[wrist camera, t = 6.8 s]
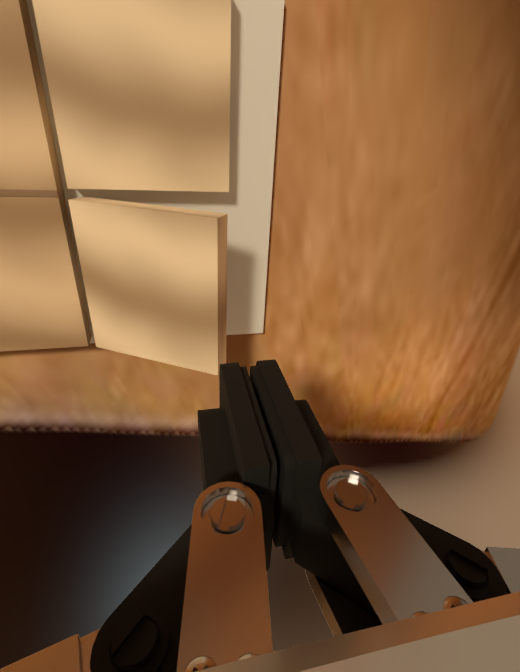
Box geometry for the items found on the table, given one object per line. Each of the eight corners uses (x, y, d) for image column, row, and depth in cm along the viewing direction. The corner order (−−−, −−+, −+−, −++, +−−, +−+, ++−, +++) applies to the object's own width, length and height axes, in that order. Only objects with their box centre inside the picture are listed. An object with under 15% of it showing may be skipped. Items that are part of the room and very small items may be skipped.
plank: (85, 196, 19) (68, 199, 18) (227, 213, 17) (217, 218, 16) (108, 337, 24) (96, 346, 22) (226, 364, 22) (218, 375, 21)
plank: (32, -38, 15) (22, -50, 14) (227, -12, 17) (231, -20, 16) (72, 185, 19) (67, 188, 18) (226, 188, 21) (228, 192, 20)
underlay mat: (-248, -74, 13) (-258, -79, 13) (282, -1, 18) (284, -3, 17) (-63, 349, 22) (-67, 352, 22) (261, 330, 26) (263, 333, 26)
